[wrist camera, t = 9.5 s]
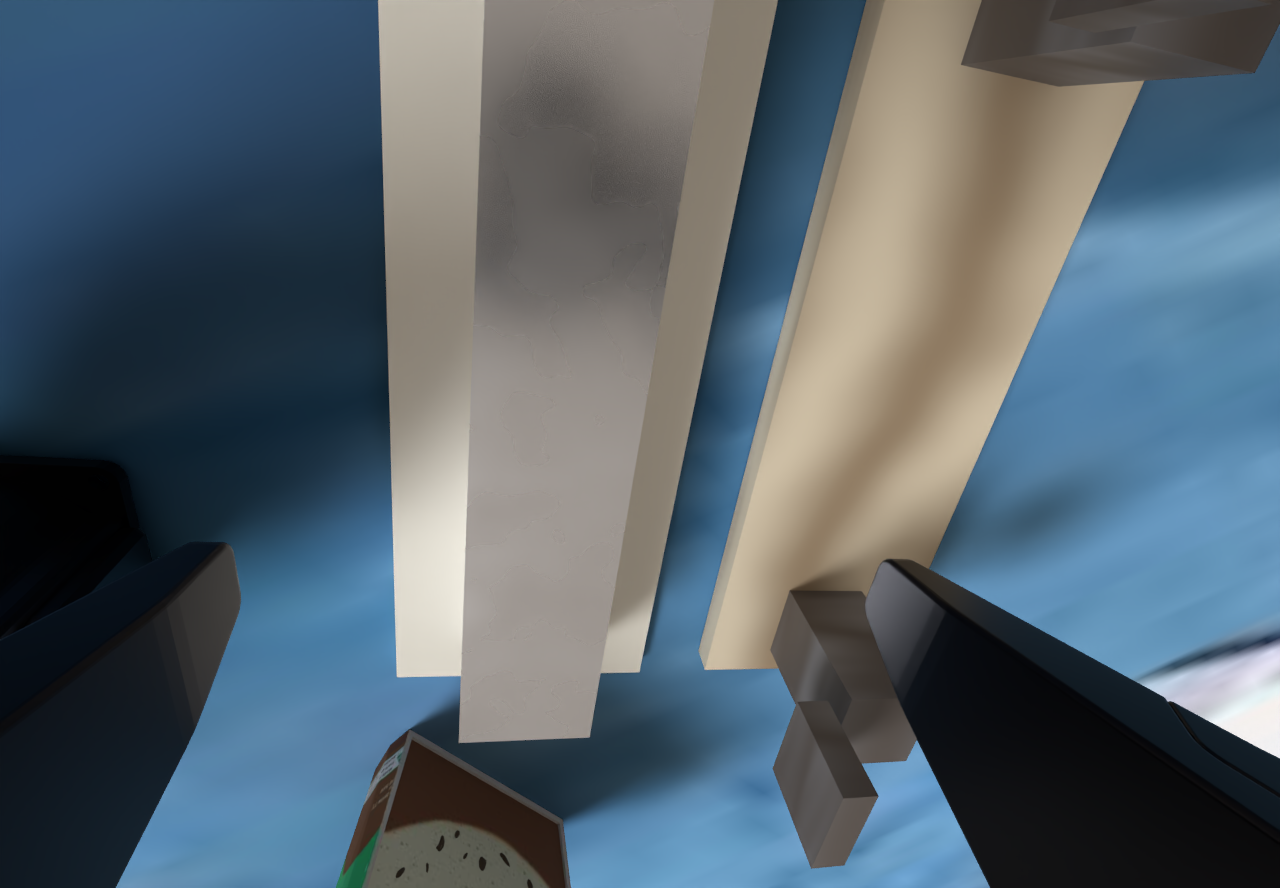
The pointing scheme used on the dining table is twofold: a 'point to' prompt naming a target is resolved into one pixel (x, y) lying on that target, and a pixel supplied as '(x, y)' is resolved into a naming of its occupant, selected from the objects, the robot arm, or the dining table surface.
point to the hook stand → (921, 333)
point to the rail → (565, 336)
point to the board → (444, 309)
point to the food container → (450, 828)
